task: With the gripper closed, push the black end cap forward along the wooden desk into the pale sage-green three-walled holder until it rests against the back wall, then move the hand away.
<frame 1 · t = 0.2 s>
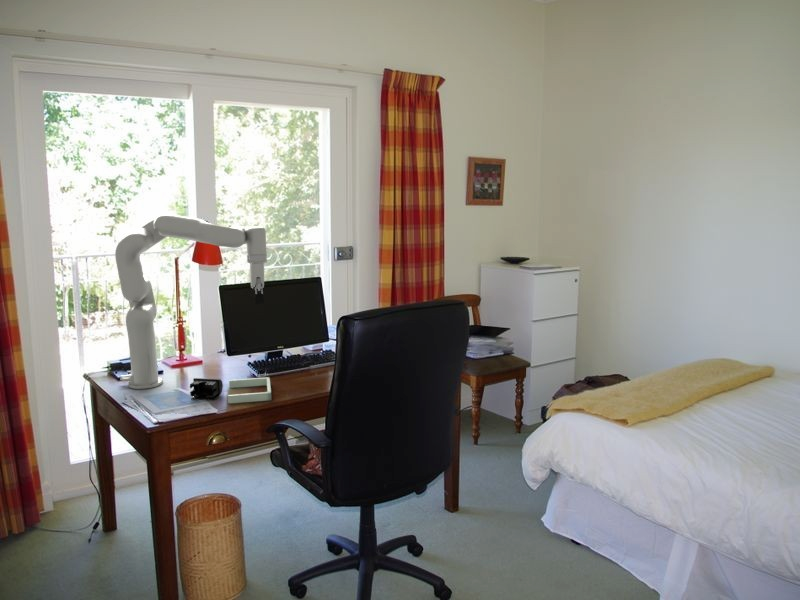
hand: (258, 301, 258), 31 cm above the table, tool pointing down, fingers open, 9 cm apart
holder: (248, 393, 244), on the table
end cap: (206, 397, 241), on the table
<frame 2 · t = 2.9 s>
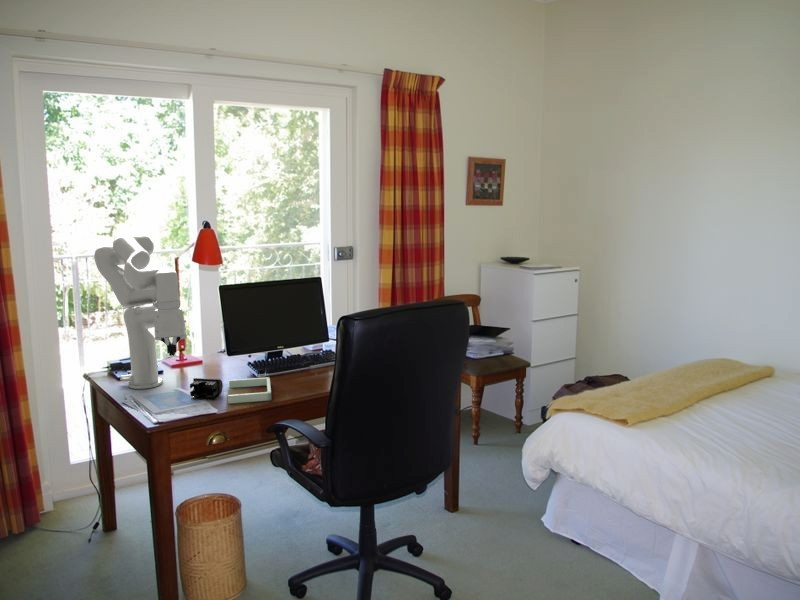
hand: (172, 354, 235), 17 cm above the table, tool pointing down, fingers closed
nothing on the table moved.
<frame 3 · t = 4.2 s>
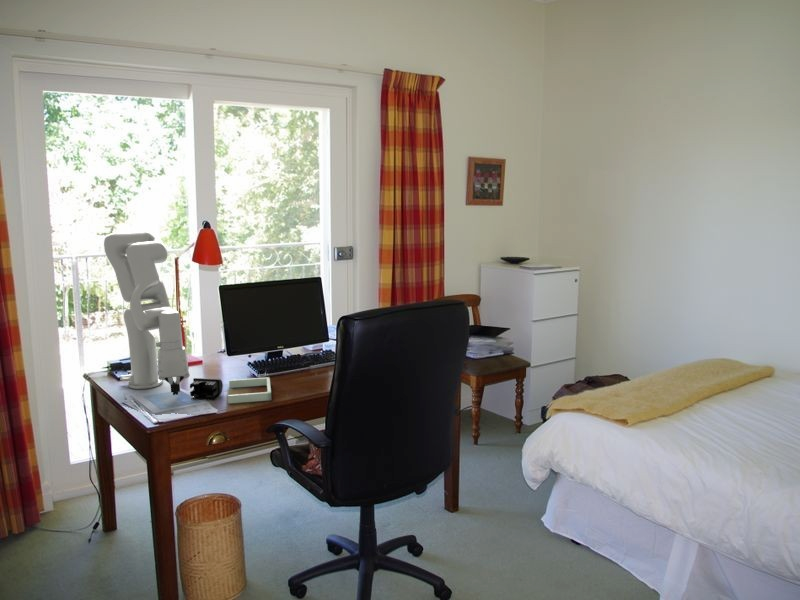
hand: (175, 393, 238), 2 cm above the table, tool pointing down, fingers closed
nothing on the table moved.
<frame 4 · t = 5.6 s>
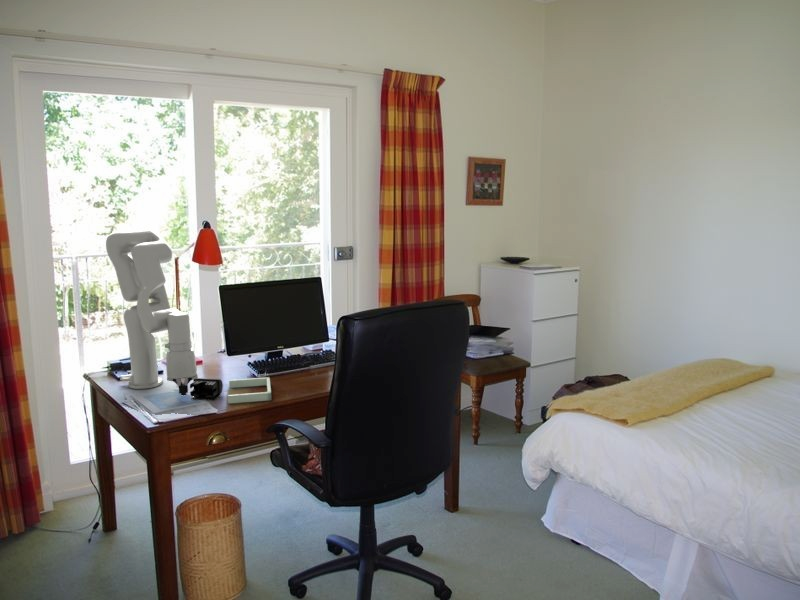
hand: (183, 394, 239), 1 cm above the table, tool pointing down, fingers closed
end cap: (206, 397, 241), on the table, touching gripper
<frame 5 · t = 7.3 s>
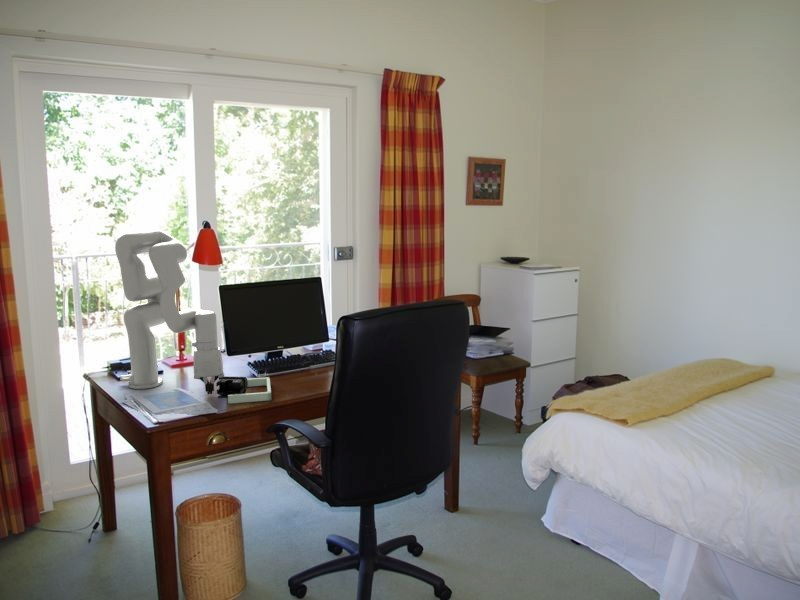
hand: (210, 392, 241), 1 cm above the table, tool pointing down, fingers closed
end cap: (232, 395, 243), on the table, touching gripper
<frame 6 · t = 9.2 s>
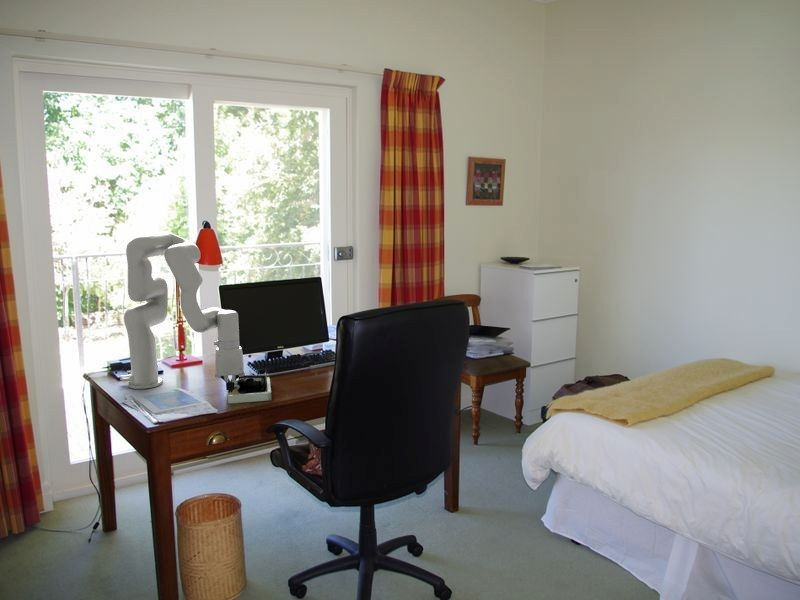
hand: (230, 391, 243), 1 cm above the table, tool pointing down, fingers closed
end cap: (252, 393, 245), on the table, touching gripper, holder
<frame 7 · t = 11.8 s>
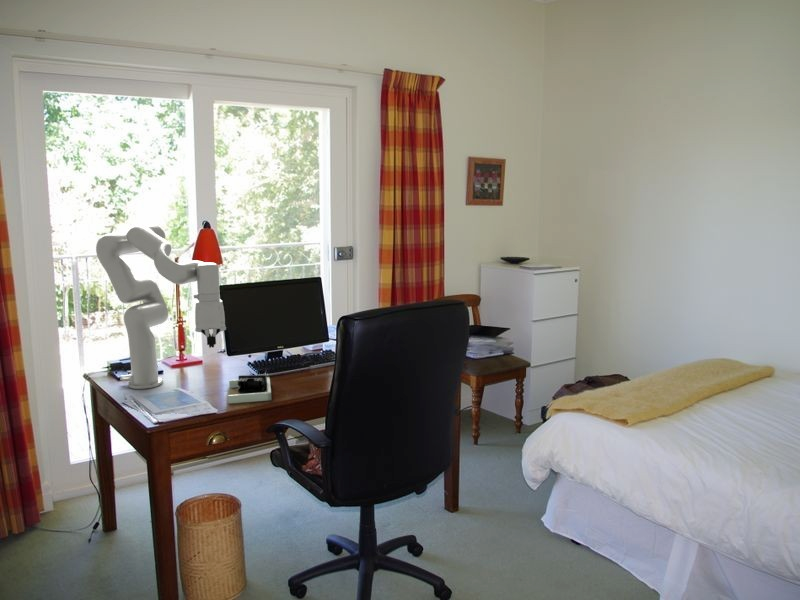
hand: (211, 346, 238), 19 cm above the table, tool pointing down, fingers closed
end cap: (252, 393, 245), on the table
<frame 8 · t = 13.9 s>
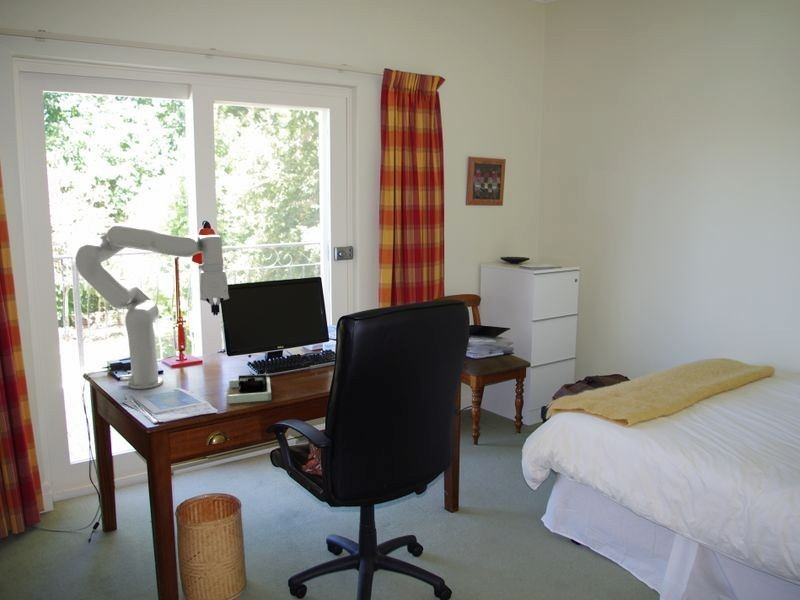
hand: (215, 314, 253), 27 cm above the table, tool pointing down, fingers closed
end cap: (252, 393, 245), on the table, touching holder
at the end: end cap inside the target area on the holder (1.5 cm from its centre), point 0.0 cm above the holder's base; end cap moved 16.7 cm from its start; the gripper is holding nothing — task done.
